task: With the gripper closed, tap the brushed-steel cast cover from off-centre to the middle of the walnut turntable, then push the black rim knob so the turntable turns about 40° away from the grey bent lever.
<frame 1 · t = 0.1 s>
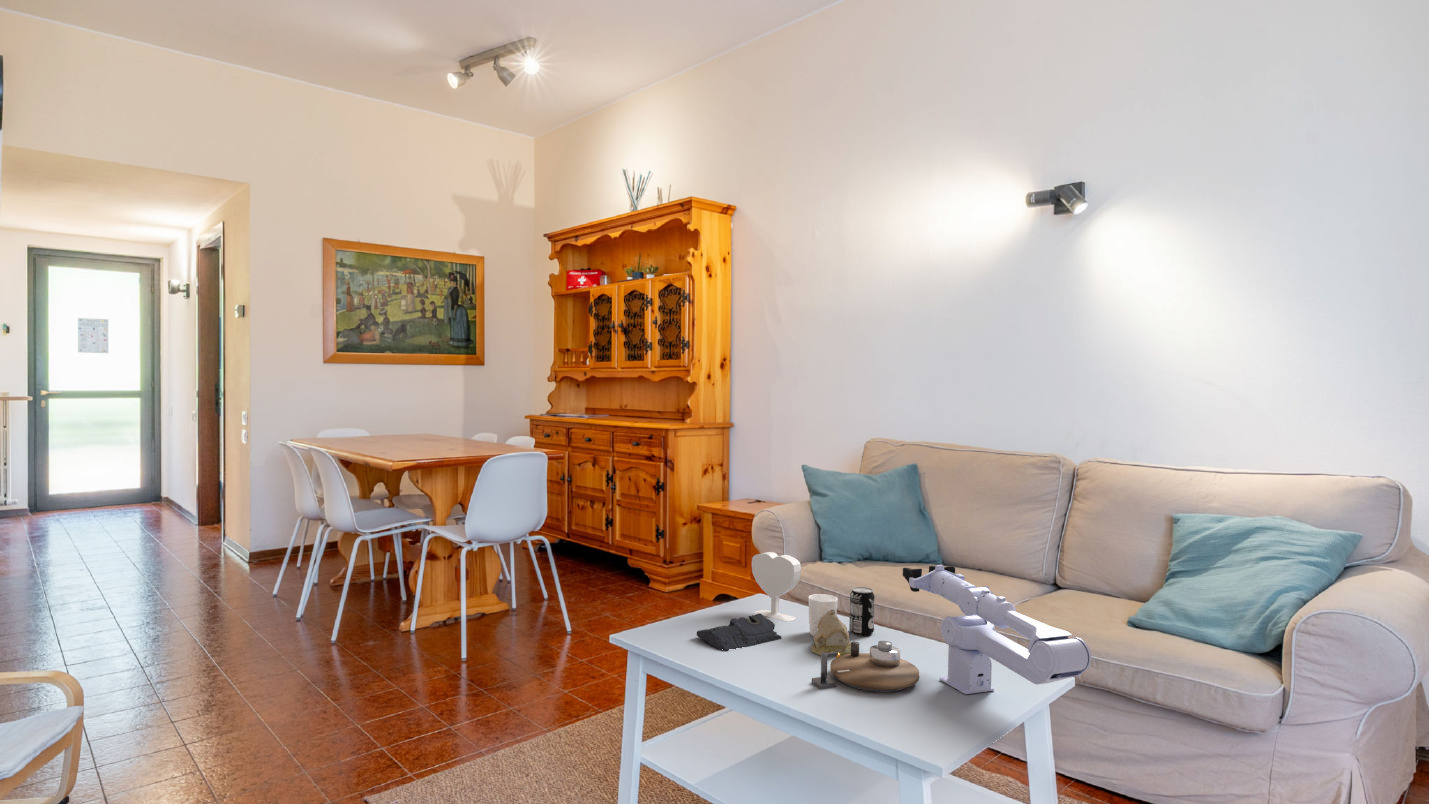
hand: (917, 570, 194), 22 cm above the table, tool horizontal, fingers open, 7 cm apart
turntable: (874, 663, 179), point 3 cm above the table, hinge at 0.0°, touching cast cover
heart sculpture: (774, 616, 228), on the table
turntable base: (874, 678, 179), on the table
white cup: (822, 635, 211), on the table
beverage can: (861, 633, 213), on the table
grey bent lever: (823, 684, 174), on the table
ceramic model: (831, 649, 200), on the table
cast cover: (884, 662, 183), point 2 cm above the table, touching turntable
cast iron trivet: (737, 639, 207), on the table
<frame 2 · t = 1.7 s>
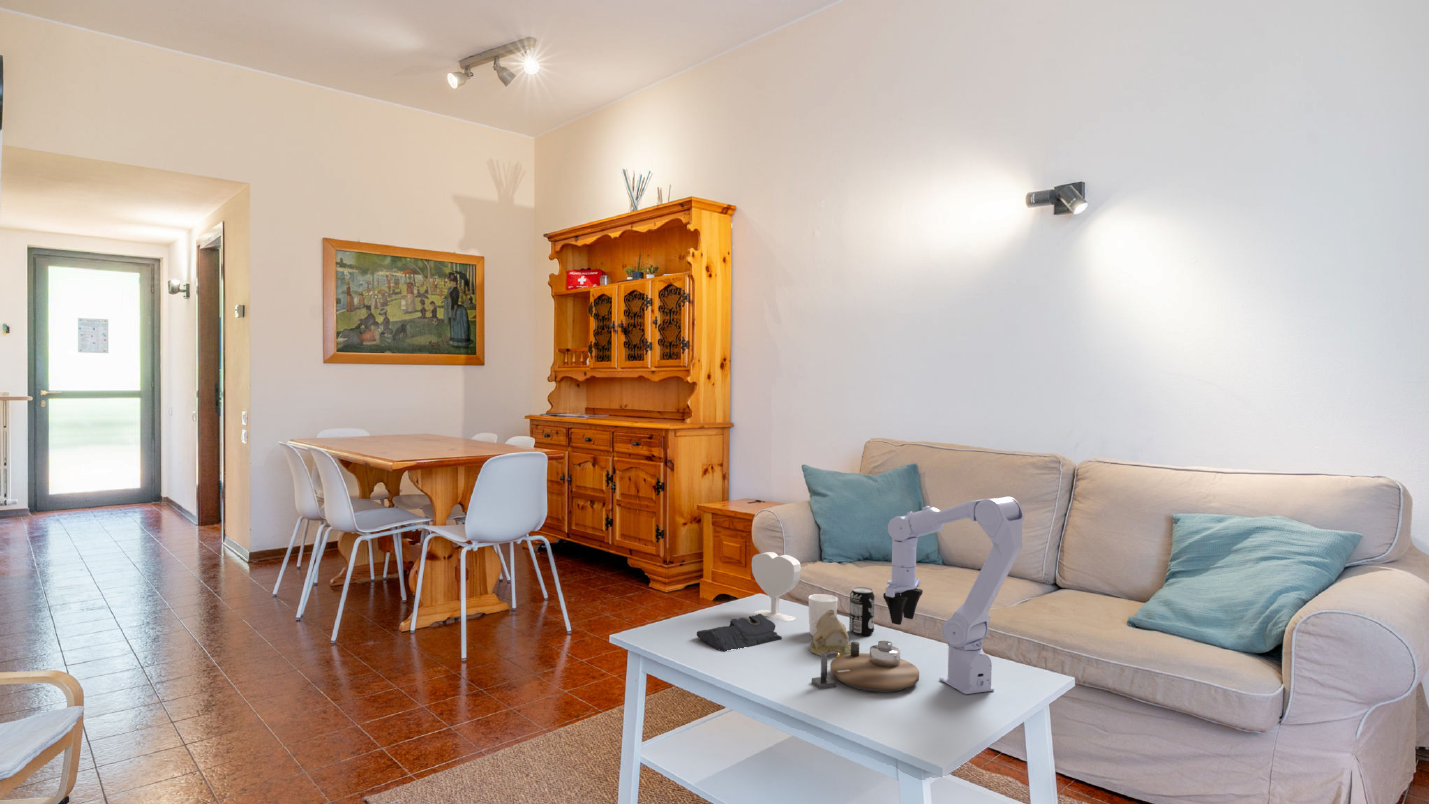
hand: (902, 621, 189), 10 cm above the table, tool pointing down, fingers open, 6 cm apart
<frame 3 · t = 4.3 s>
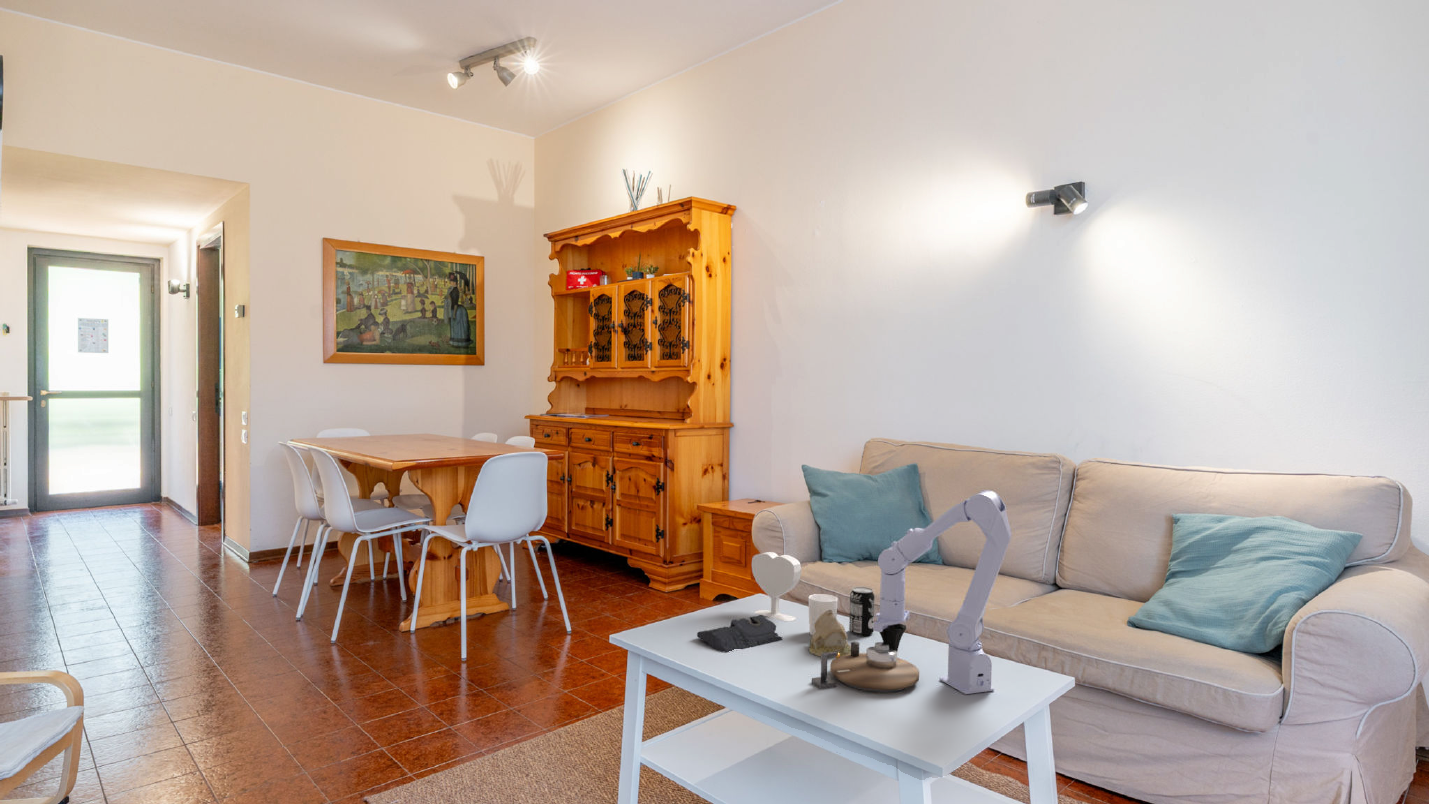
hand: (891, 655, 185), 3 cm above the table, tool pointing down, fingers closed
turntable: (874, 663, 179), point 3 cm above the table, hinge at 0.0°
cast cover: (881, 663, 181), point 3 cm above the table, touching gripper
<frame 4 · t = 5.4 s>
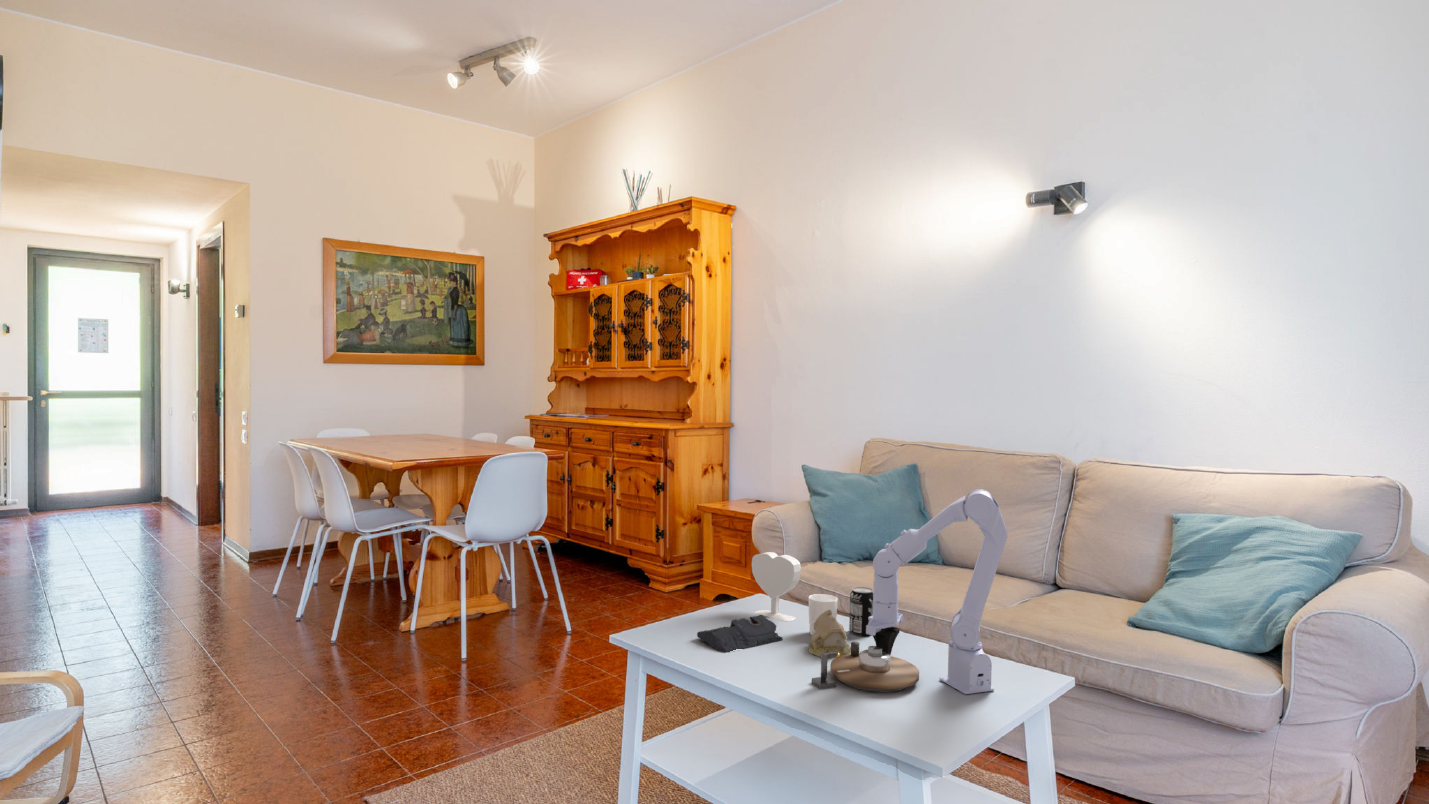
hand: (884, 658, 182), 3 cm above the table, tool pointing down, fingers closed
turntable: (874, 663, 179), point 3 cm above the table, hinge at 0.0°, touching cast cover
cast cover: (874, 667, 179), point 2 cm above the table, touching gripper, turntable
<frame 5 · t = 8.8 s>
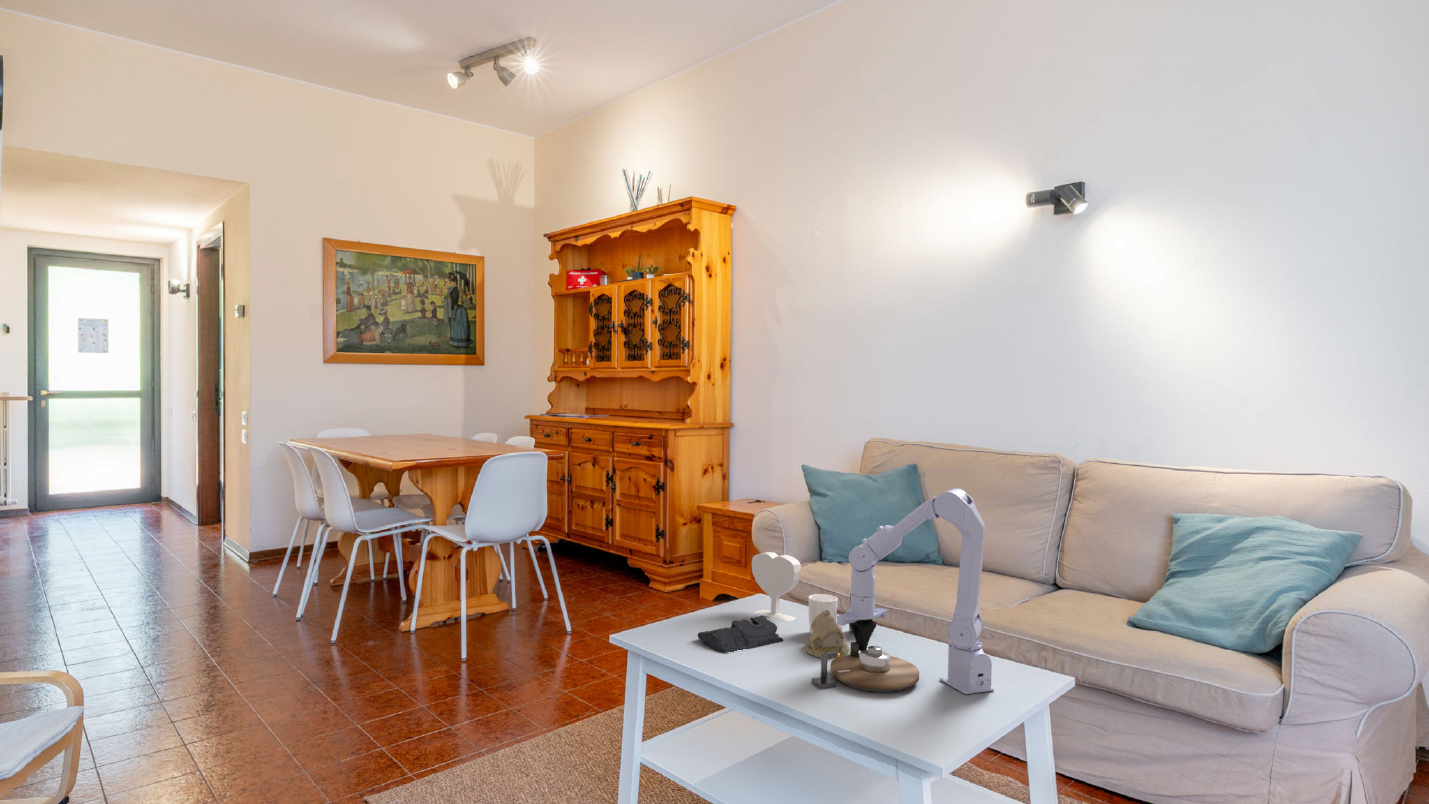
hand: (861, 650, 188), 3 cm above the table, tool pointing down, fingers closed
turntable: (874, 663, 179), point 3 cm above the table, hinge at 0.7°, touching cast cover, gripper
cast cover: (874, 668, 179), point 2 cm above the table, touching turntable
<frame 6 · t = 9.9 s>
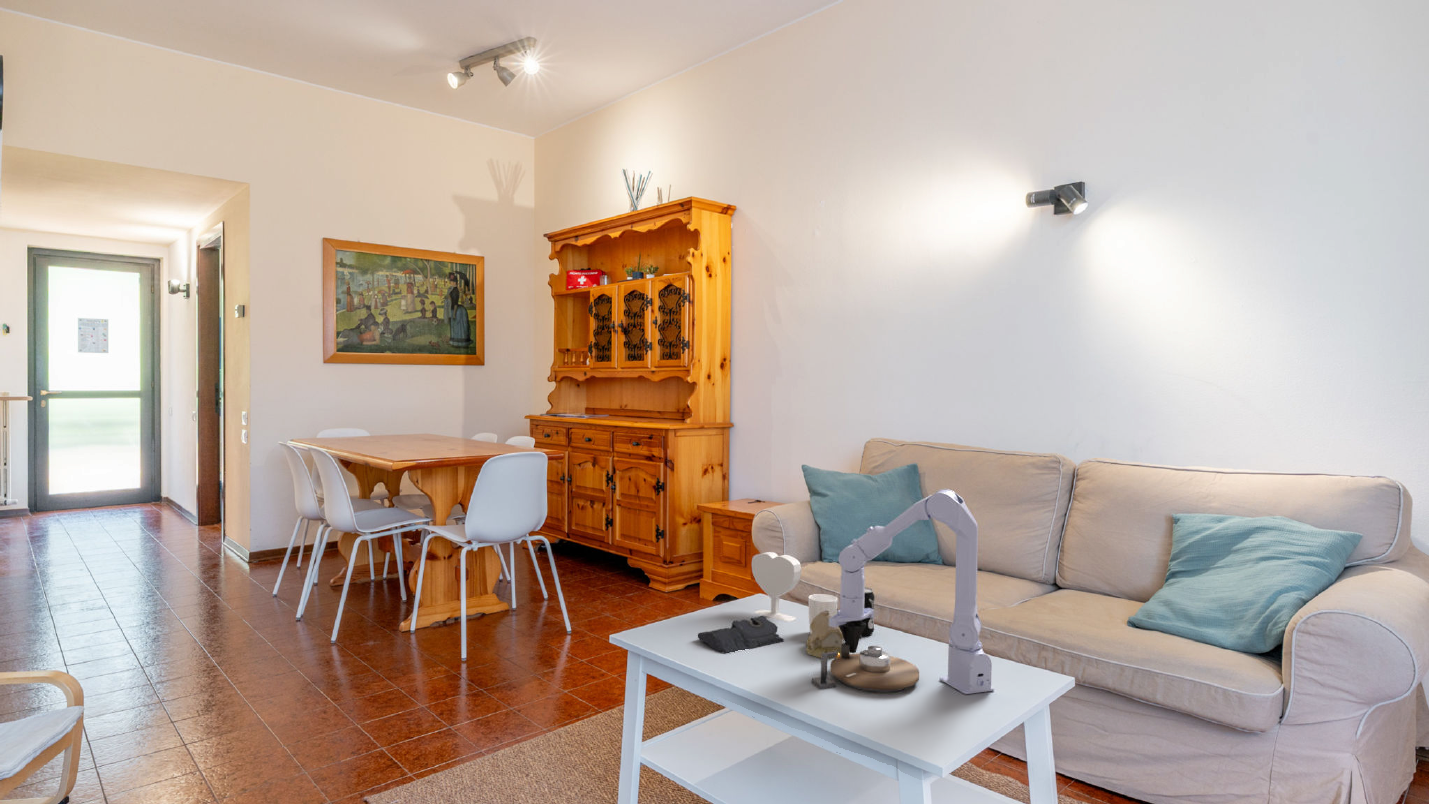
hand: (851, 651, 187), 3 cm above the table, tool pointing down, fingers closed
turntable: (874, 663, 179), point 3 cm above the table, hinge at 19.3°, touching cast cover, gripper
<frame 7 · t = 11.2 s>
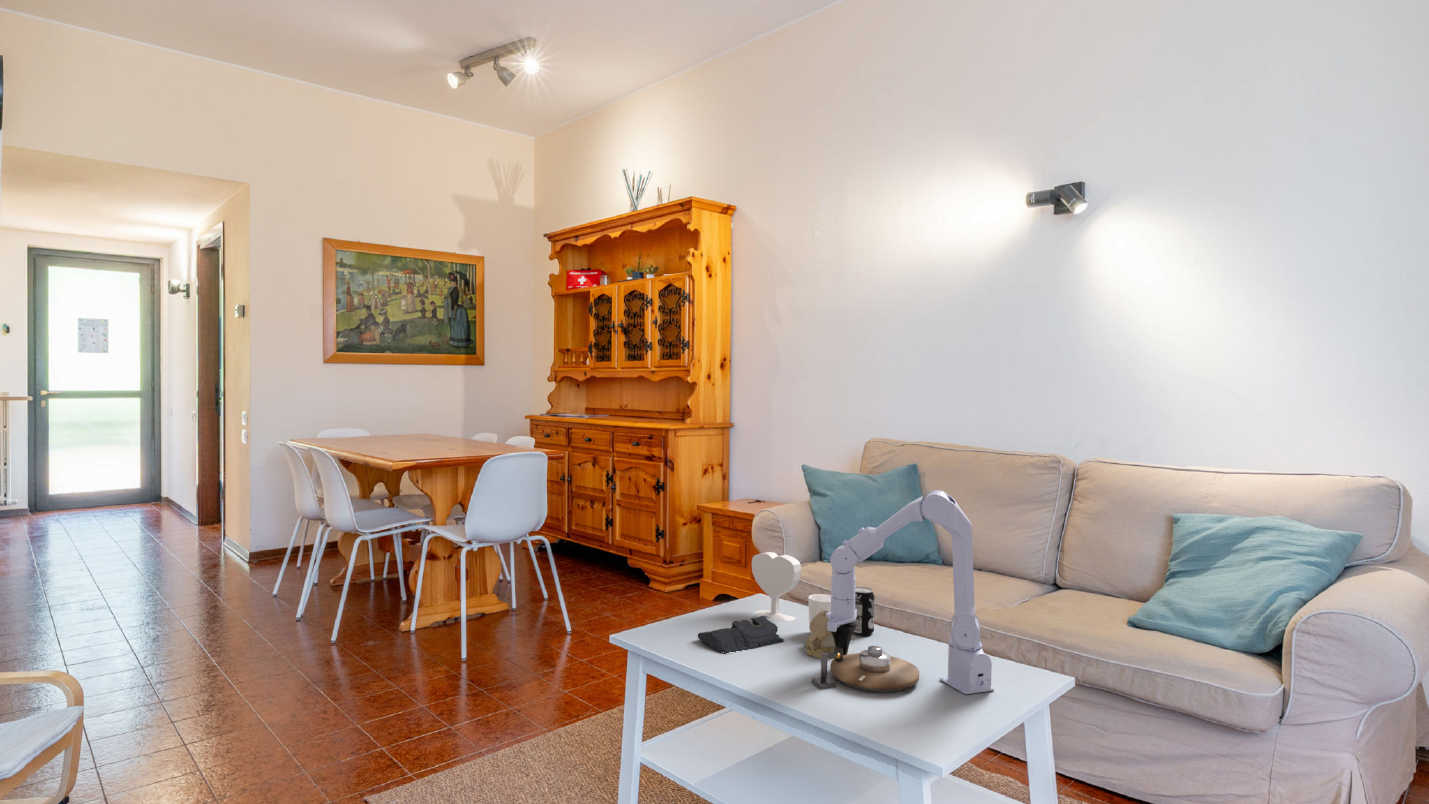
hand: (841, 654, 185), 3 cm above the table, tool pointing down, fingers closed
turntable: (874, 663, 179), point 3 cm above the table, hinge at 39.2°, touching cast cover, gripper
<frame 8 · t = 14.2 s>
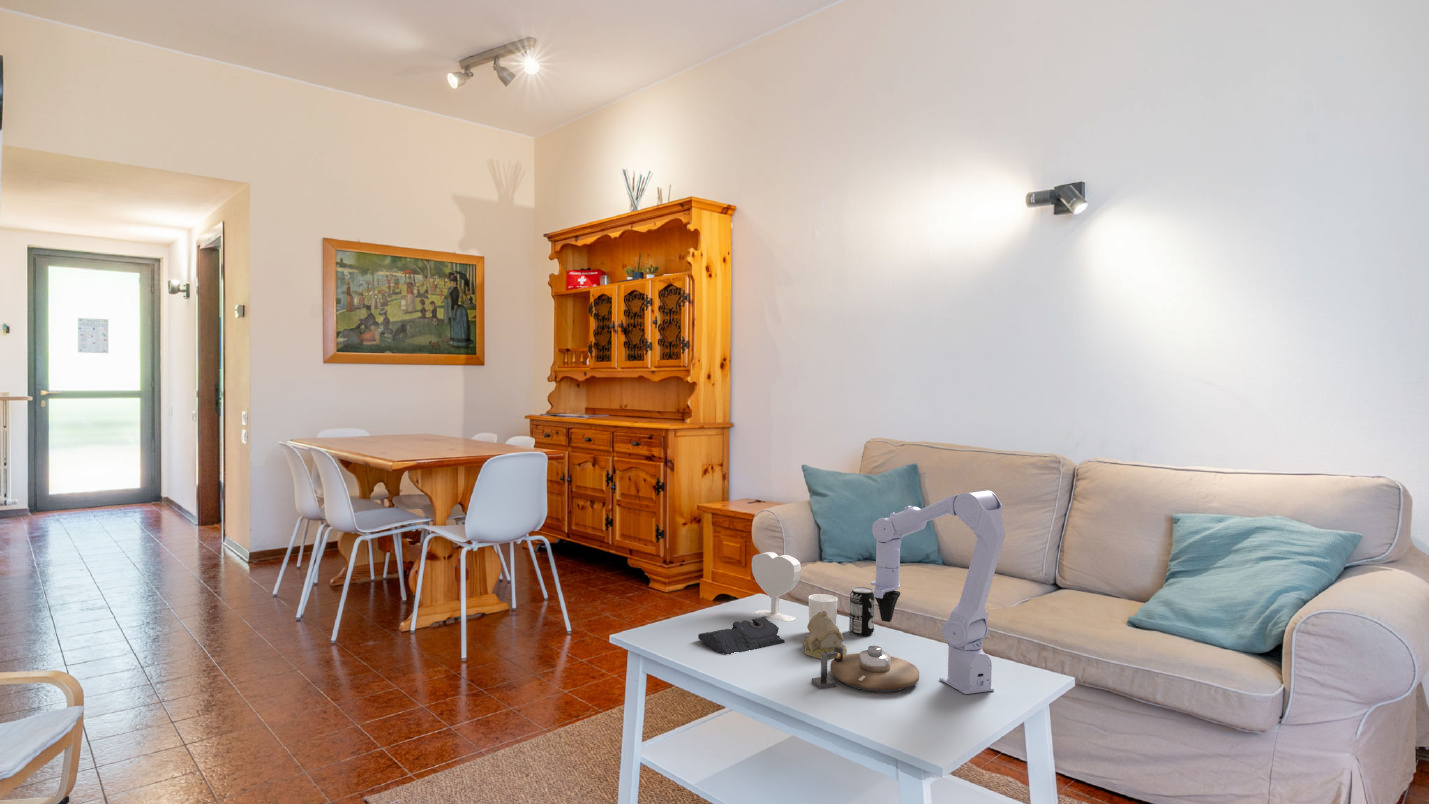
hand: (886, 620, 192), 9 cm above the table, tool pointing down, fingers closed
turntable: (874, 663, 179), point 3 cm above the table, hinge at 39.2°, touching cast cover
at the end: cast cover 0.1 cm from the turntable (horizontally); turntable at +39° (first picture: +0°); cast cover tilted 0° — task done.
